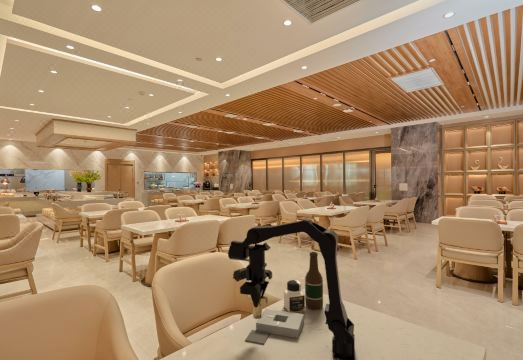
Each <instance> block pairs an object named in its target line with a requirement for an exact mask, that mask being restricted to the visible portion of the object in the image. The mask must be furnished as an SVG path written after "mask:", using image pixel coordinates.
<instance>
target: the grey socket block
mask: <svg viewBox="0 0 523 360" xmlns="http://www.w3.org/2000/svg"><path fill="white" fill-rule="evenodd" d="M304 323H305V314H303V313H300V312H295V313H292V312H288V311H284V310H277V309H269V308H264V310H263V311H262V318H260V319H257V321H256V322H255V330H256V331H262V332H268V333H270V334H272V335H273V334H274V335H278V336H284V337H289V338H295V339H298V338H299V337H300V334H301V331H302V329H303V327H304V326H303V325H304Z"/></svg>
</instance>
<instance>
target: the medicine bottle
mask: <svg viewBox="0 0 523 360" xmlns="http://www.w3.org/2000/svg"><path fill="white" fill-rule="evenodd" d="M283 307H284V308H285V309H286V311H287V312H292V313H301V312H305V311H306V309H305V307H306V304H305V293H303V292H302V283H301V281H300V280H297V279H291V280H288V281H287V282H286V290H283Z"/></svg>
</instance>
